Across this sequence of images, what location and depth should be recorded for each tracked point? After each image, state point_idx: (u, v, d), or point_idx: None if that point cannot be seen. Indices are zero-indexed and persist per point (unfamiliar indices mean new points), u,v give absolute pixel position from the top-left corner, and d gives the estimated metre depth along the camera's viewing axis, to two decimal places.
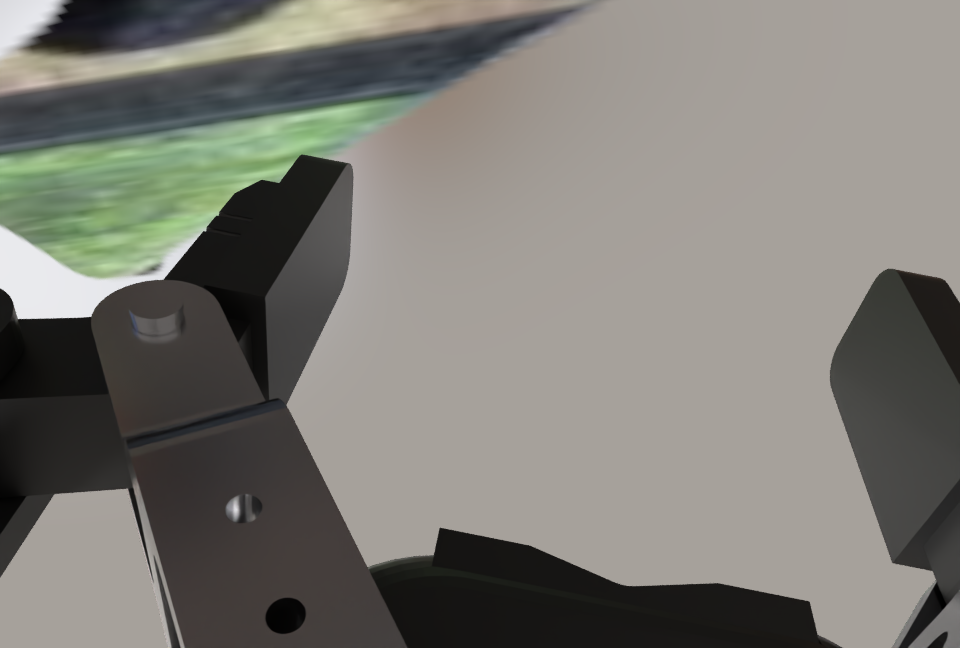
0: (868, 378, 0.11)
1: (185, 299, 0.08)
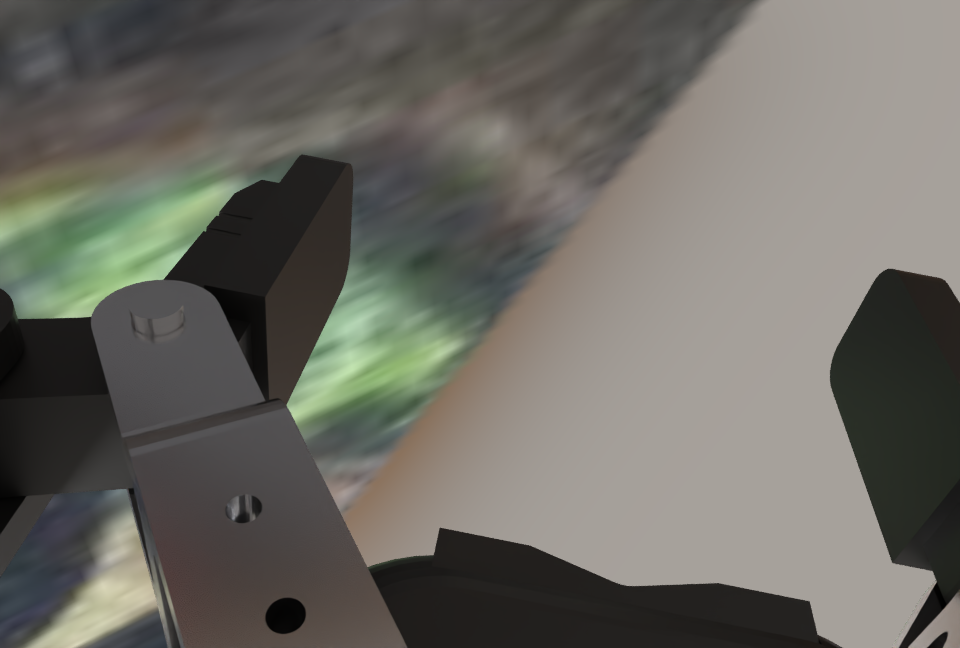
0: (868, 377, 0.11)
1: (185, 299, 0.08)
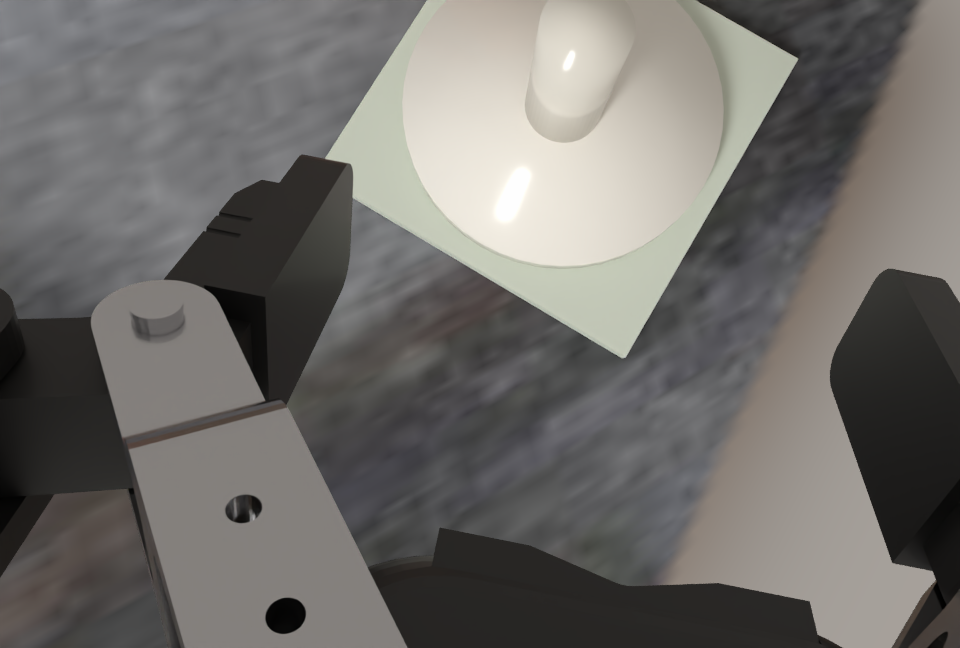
0: (868, 378, 0.11)
1: (185, 299, 0.08)
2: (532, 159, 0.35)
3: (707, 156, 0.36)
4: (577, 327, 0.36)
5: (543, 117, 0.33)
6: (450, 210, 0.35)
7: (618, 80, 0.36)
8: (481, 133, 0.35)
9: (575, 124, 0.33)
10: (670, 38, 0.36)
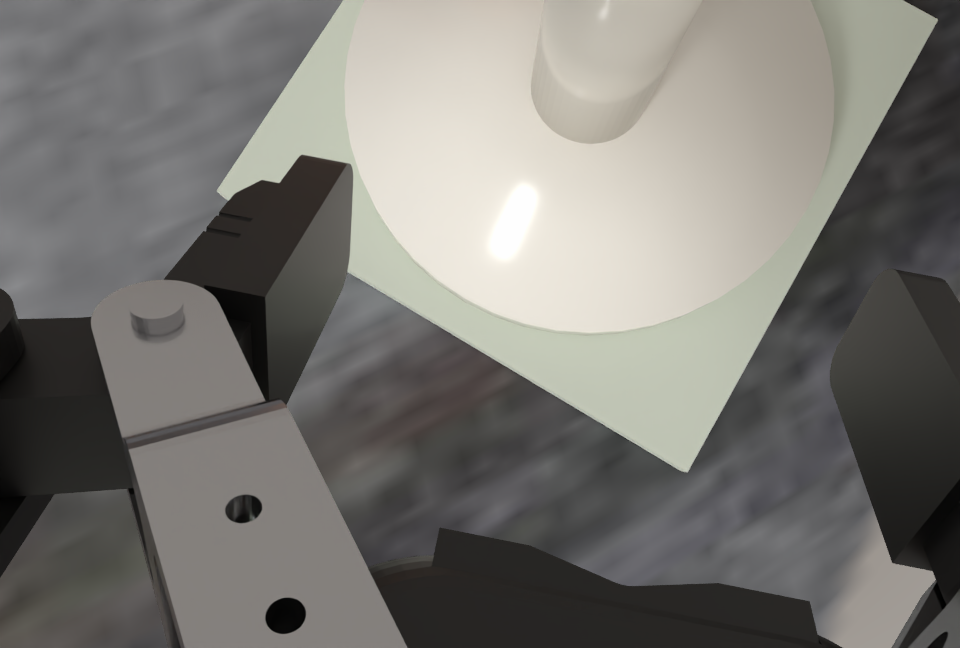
0: (868, 378, 0.11)
1: (185, 299, 0.08)
2: (542, 170, 0.23)
3: (811, 163, 0.23)
4: (612, 425, 0.23)
5: (561, 102, 0.21)
6: (417, 248, 0.23)
7: None
8: (465, 131, 0.23)
9: (612, 112, 0.21)
10: None
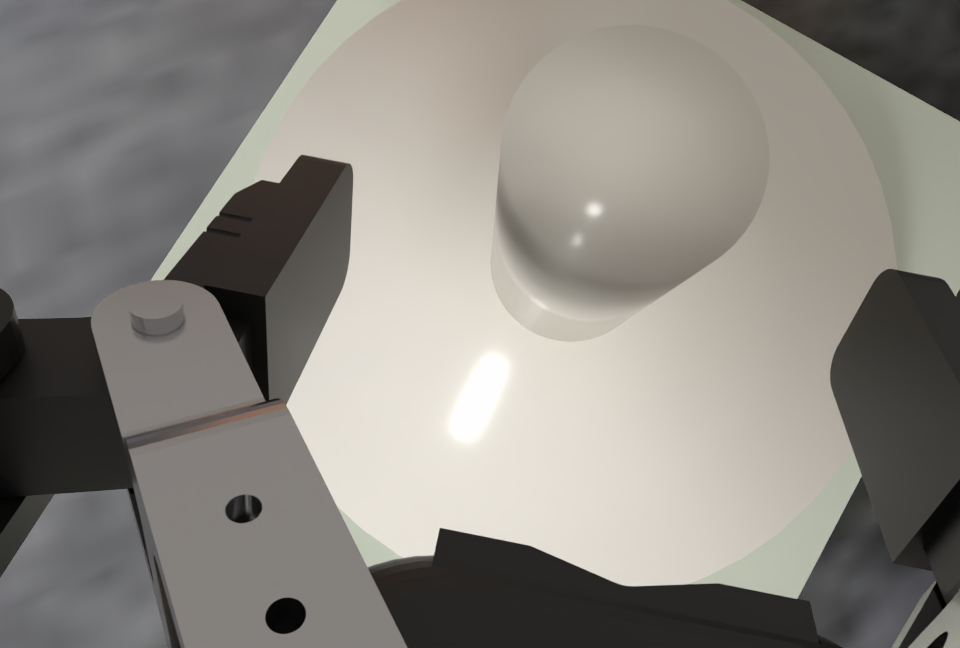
0: (867, 377, 0.11)
1: (185, 299, 0.08)
2: (506, 378, 0.17)
3: None
4: None
5: (527, 311, 0.15)
6: (335, 489, 0.17)
7: None
8: (402, 324, 0.17)
9: (597, 328, 0.15)
10: (783, 122, 0.18)
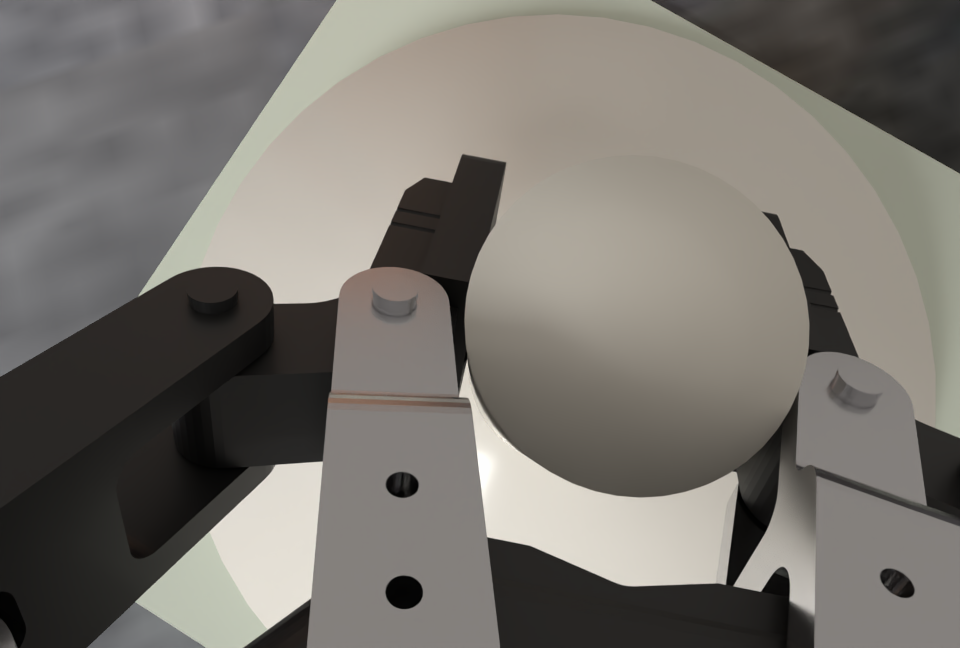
0: None
1: None
2: (486, 504, 0.15)
3: None
4: None
5: (508, 444, 0.13)
6: None
7: None
8: None
9: None
10: (805, 205, 0.16)
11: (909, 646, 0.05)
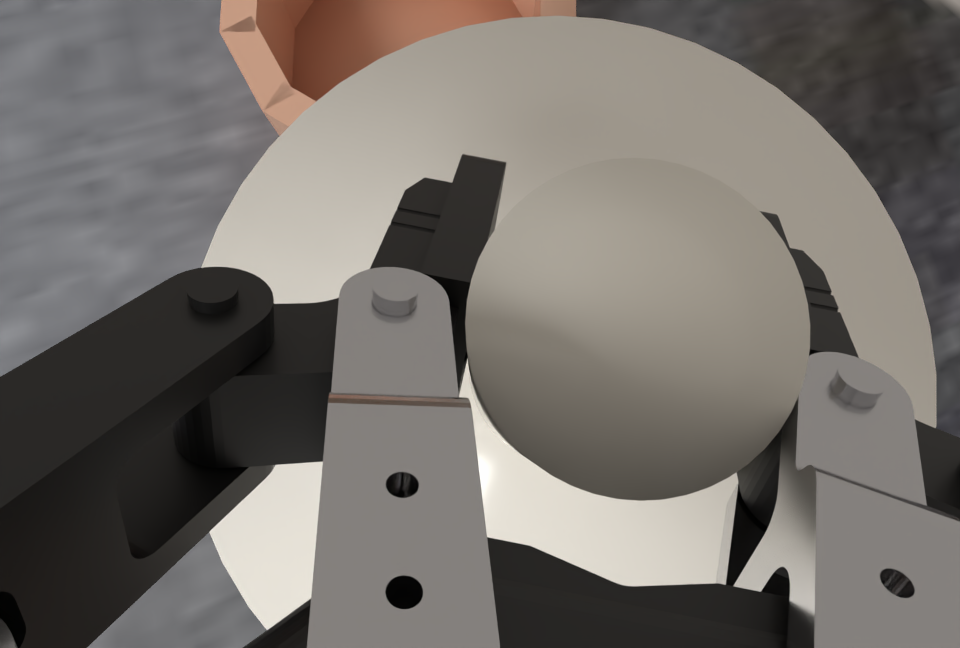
0: None
1: None
2: (486, 506, 0.15)
3: None
4: None
5: (509, 446, 0.13)
6: None
7: None
8: None
9: None
10: (806, 207, 0.16)
11: (909, 646, 0.05)
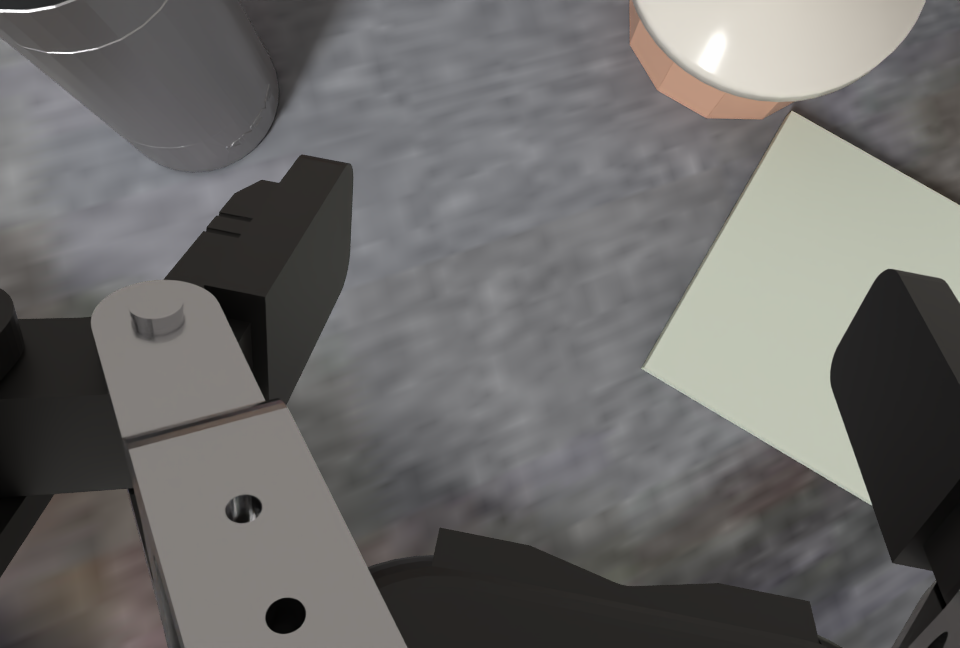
0: (868, 377, 0.11)
1: (185, 299, 0.08)
2: None
3: None
4: None
5: None
6: (678, 43, 0.37)
7: None
8: None
9: None
10: None
11: None
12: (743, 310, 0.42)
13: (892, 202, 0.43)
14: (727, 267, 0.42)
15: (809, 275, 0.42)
